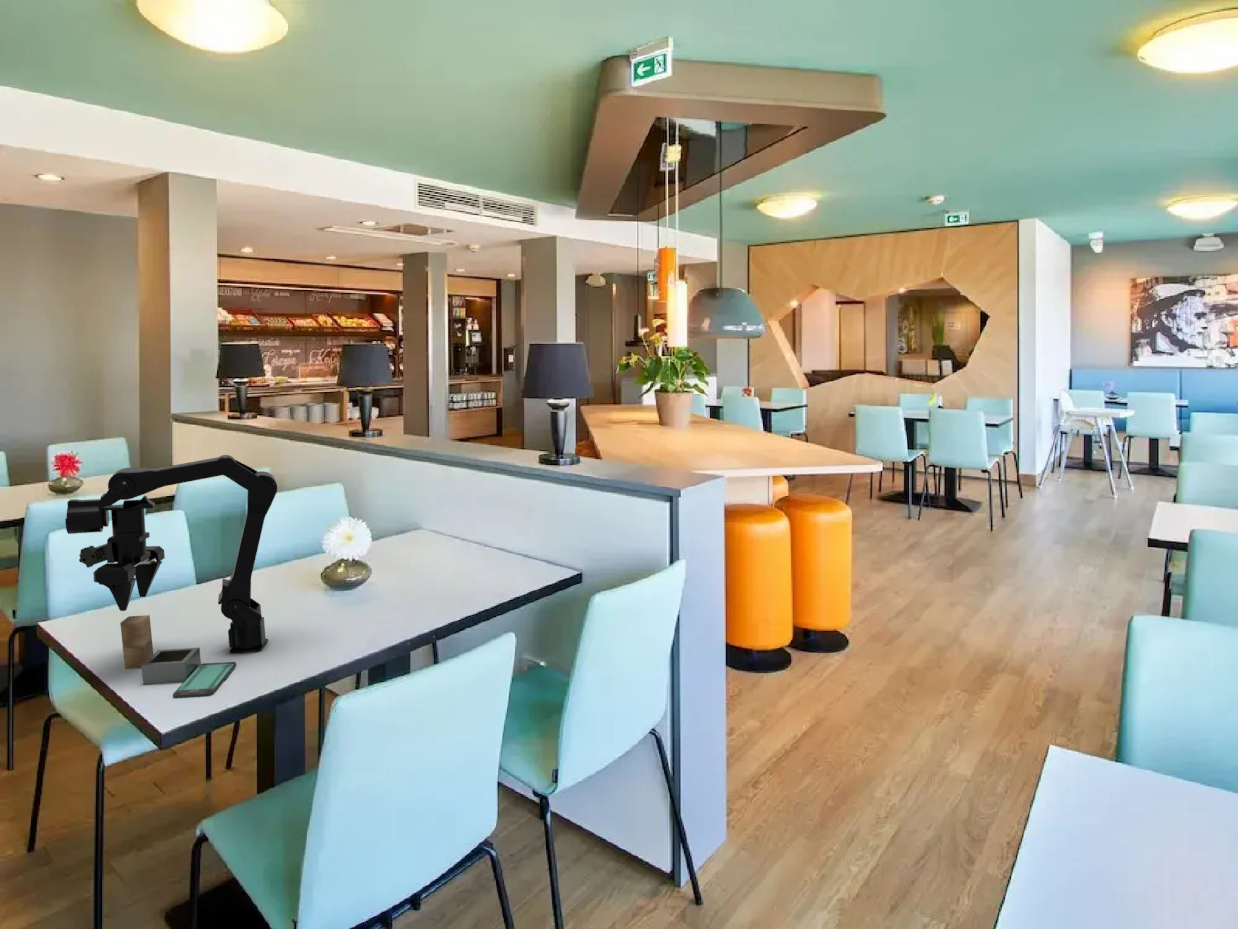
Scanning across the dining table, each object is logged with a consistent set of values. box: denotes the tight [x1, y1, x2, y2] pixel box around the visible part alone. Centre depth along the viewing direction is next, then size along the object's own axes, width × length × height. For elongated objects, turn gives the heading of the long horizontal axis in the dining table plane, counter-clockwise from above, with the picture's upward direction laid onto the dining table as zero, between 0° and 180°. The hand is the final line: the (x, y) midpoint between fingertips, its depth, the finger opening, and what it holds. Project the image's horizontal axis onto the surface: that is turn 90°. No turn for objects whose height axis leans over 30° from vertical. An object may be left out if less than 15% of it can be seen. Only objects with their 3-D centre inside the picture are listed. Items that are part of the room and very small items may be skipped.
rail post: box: [120, 614, 154, 670], centre depth 162 cm, size 4×4×10 cm
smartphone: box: [172, 661, 237, 699], centre depth 155 cm, size 7×1×15 cm
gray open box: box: [140, 647, 202, 686], centre depth 157 cm, size 8×8×4 cm
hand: (133, 603), depth 161 cm, fingers open, 9 cm apart
